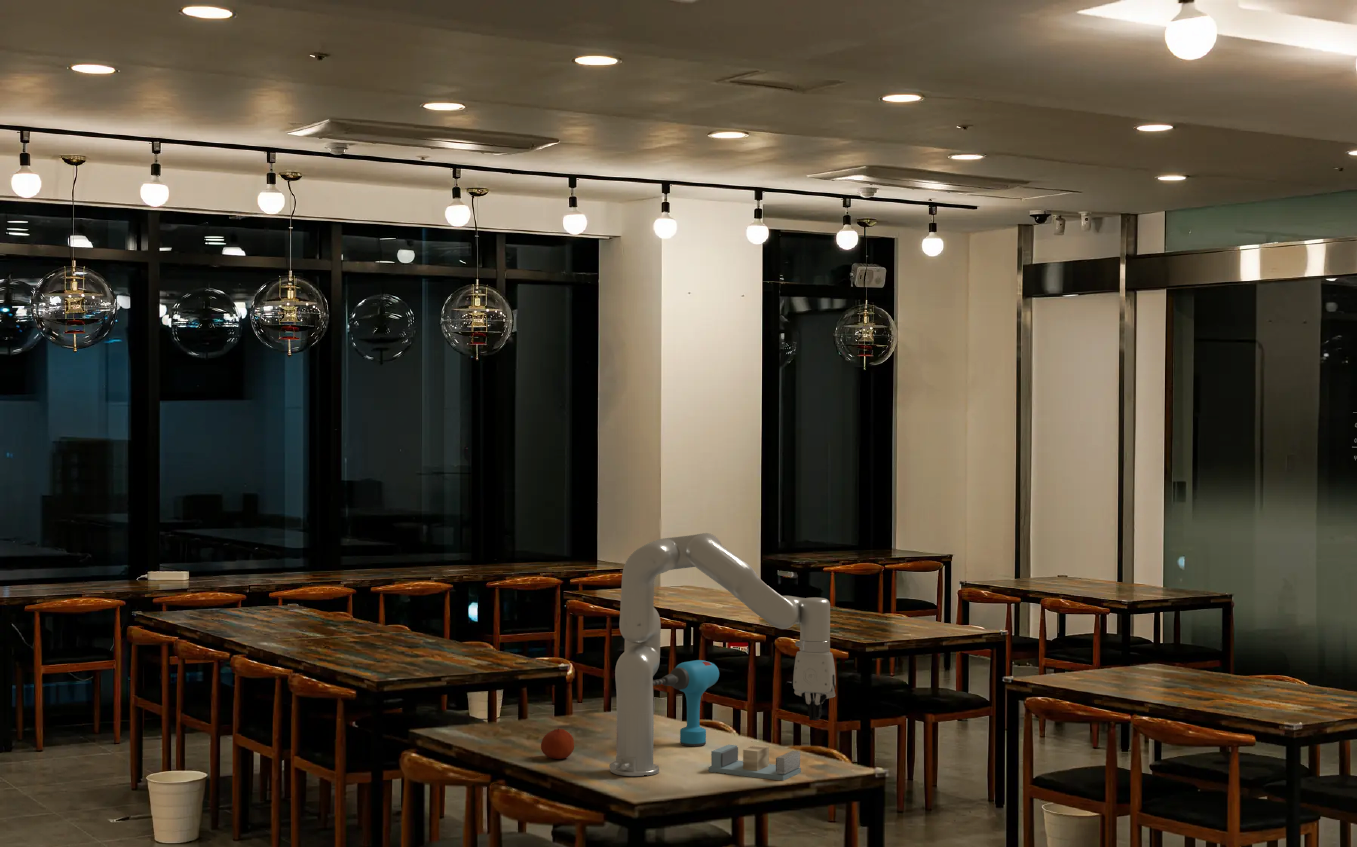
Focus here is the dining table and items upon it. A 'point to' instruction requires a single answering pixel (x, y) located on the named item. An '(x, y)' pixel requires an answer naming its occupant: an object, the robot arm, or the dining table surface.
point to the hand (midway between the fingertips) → (814, 719)
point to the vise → (729, 764)
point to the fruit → (557, 744)
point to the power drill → (692, 695)
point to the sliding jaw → (788, 762)
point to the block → (756, 757)
